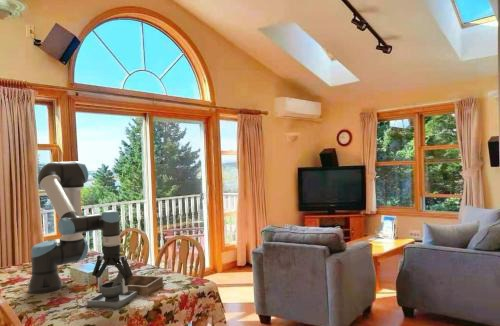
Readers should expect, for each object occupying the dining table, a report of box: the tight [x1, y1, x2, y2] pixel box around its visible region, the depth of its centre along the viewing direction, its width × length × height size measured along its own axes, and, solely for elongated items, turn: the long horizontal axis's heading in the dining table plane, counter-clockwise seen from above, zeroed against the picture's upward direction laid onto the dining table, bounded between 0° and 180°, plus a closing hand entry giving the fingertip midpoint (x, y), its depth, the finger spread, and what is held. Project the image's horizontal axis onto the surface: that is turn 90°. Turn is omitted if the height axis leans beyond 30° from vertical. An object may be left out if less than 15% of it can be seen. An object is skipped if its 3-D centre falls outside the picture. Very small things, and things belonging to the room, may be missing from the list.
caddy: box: [103, 274, 164, 297], centre depth 195 cm, size 24×16×4 cm, turn 75°
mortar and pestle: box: [100, 271, 123, 302], centre depth 178 cm, size 11×9×12 cm
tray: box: [86, 290, 138, 310], centre depth 178 cm, size 16×16×3 cm
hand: (112, 291), depth 178 cm, fingers open, 12 cm apart
